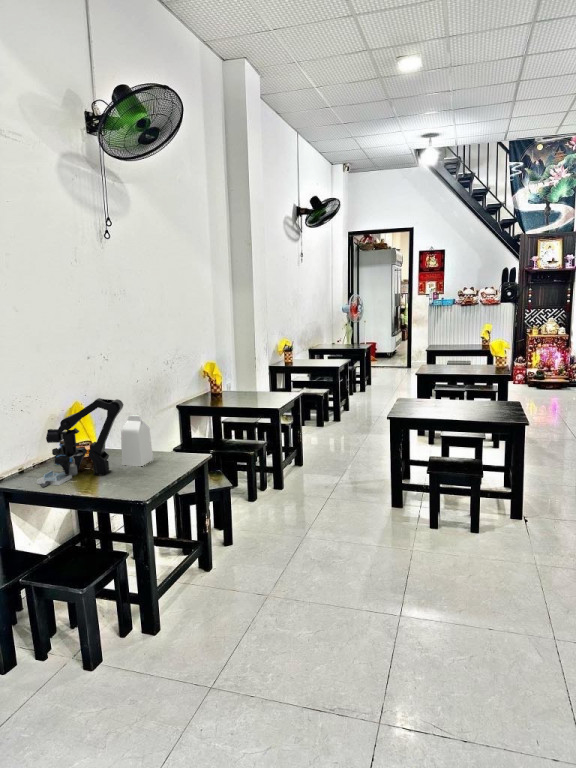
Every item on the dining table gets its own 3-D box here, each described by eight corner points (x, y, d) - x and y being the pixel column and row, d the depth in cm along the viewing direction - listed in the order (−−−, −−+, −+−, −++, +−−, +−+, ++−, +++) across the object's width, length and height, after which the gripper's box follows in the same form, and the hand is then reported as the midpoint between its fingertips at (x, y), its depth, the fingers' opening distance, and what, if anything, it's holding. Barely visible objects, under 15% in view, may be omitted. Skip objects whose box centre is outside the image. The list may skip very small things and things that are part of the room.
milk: (121, 465, 280) (118, 417, 275) (134, 459, 290) (130, 412, 286) (141, 467, 276) (138, 418, 272) (153, 460, 287) (150, 413, 283)
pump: (79, 473, 269) (78, 463, 268) (74, 476, 265) (73, 466, 264) (71, 472, 270) (70, 463, 269) (66, 475, 266) (65, 466, 265)
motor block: (72, 478, 262) (71, 470, 261) (53, 488, 249) (52, 480, 248) (50, 476, 265) (49, 469, 264) (31, 486, 251) (30, 478, 251)
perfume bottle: (56, 464, 283) (54, 443, 281) (61, 461, 289) (59, 439, 287) (68, 464, 284) (66, 442, 281) (72, 460, 290) (70, 439, 288)
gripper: (67, 436, 275) (69, 465, 278) (43, 446, 257) (46, 477, 260) (86, 437, 273) (88, 466, 276) (63, 447, 255) (66, 478, 258)
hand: (72, 472), depth 267 cm, fingers open, 8 cm apart
